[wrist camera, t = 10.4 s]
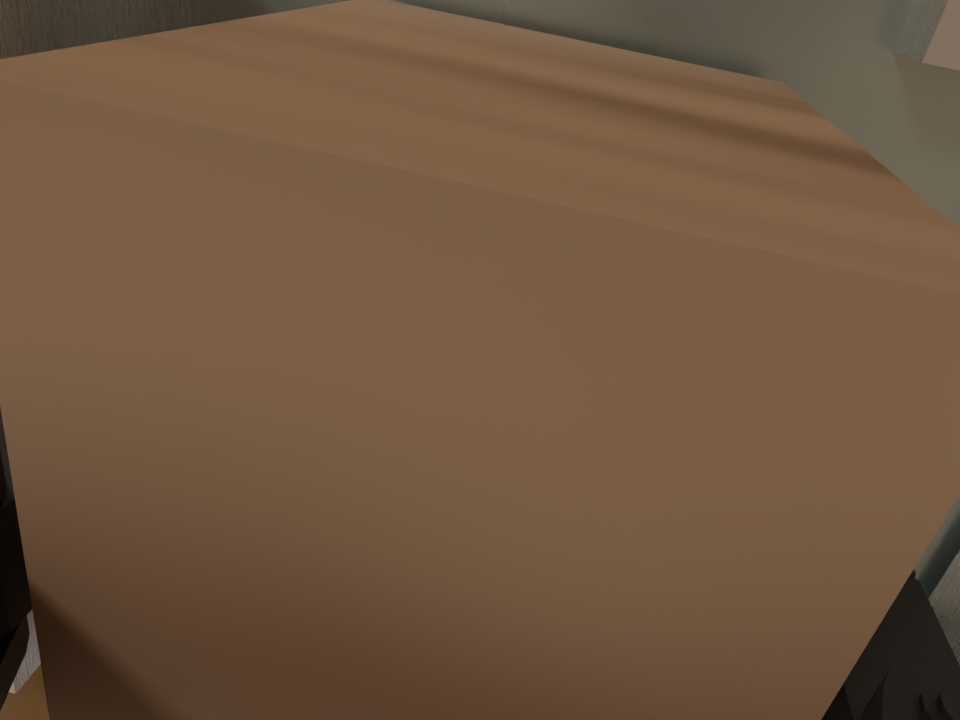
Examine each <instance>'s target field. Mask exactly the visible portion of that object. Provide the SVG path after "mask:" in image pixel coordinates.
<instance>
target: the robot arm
mask: <svg viewBox="0 0 960 720" xmlns="http://www.w3.org/2000/svg"><path fill="white" fill-rule="evenodd" d="M915 576H916V572H915V570H914V569H913V571H912V573H911V574H910V576H909V577H908V579H907V581H906V582H905V584H904V586H903V587H902V589H901V590H900V592H899V594H898V595H897V597H896V599H895V600H894V602H893V604H892V605H891V607H890V608H889V610H888V612H887V613H886V615H885V617H884V618H883V620H882V621H881V623H880V625H879V626H878V628H877V630H876V631H875V633H874V634H873V636H872V638H871V639H870V641H869V643H868V644H867V646H866V647H865V649H864V651H863V652H862V654H861V656H860V657H859V659H858V661H857V662H856V664H855V665H854V667H853V669H852V670H851V672H850V674H849V675H848V677H847V678H846V680H845V682H844V683H843V685H842V687H841V688H840V690H839V691H838V693H837V695H836V696H835V698H834V700H833V701H832V703H831V704H830V706H829V708H828V709H827V711H826V713H825V714H824V716H823V718H822V719H821V720H960V665H959V663H958V661H957V659H956V657H955V655H954V653H953V650H952V648H951V646H950V644H949V642H948V640H947V638H946V636H945V634H944V631H943V629H942V627H941V625H940V623H939V621H938V619H937V617H936V614H935V612H934V610H933V608H932V606H931V604H930V602H929V600H928V597H927V595H926V593H925V591H924V589H923V587H922V585H921V583H920V580H916V579H915ZM31 610H32V604H31V598H30V591H29V585H28V579H27V572H26V566H25V560H24V553H23V547H22V541H21V534H20V528H19V522H18V515H17V509H16V503H15V496H14V490H13V484H12V477H11V471H10V465H9V458H8V452H7V446H6V439H5V433H4V427H3V420H2V414H1V408H0V710H1V708H2V706H3V704H4V701H5V699H6V697H7V695H8V692H9V690H10V688H11V686H12V683H13V681H14V679H15V677H16V674H17V672H18V670H19V668H20V665H21V663H22V661H23V659H24V656H25V654H26V652H27V646H28V641H29V635H30V632H29V626H28V619H27V614H28V613H29V612H30V611H31Z"/></svg>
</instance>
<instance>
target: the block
mask: <svg viewBox="0 0 960 720" xmlns="http://www.w3.org/2000/svg"><path fill="white" fill-rule="evenodd" d="M0 408H1V414H2V420H3V427H4V433H5V439H6V446H7V452H8V458H9V465H10V471H11V477H12V484H13V490H14V496H15V503H16V509H17V515H18V522H19V528H20V534H21V541H22V547H23V553H24V560H25V566H26V572H27V579H28V585H29V591H30V598H31V604H32V610H33V617H34V623H35V629H36V636H37V642H38V648H39V655H40V661H41V667H42V674H43V680H44V686H45V693H46V699H47V705H48V712H49V718H50V720H821V719H822V718H823V716H824V714H825V713H826V711H827V709H828V708H829V706H830V704H831V703H832V701H833V700H834V698H835V696H836V695H837V693H838V691H839V690H840V688H841V687H842V685H843V683H844V682H845V680H846V678H847V677H848V675H849V674H850V672H851V670H852V669H853V667H854V665H855V664H856V662H857V661H858V659H859V657H860V656H861V654H862V652H863V651H864V649H865V647H866V646H867V644H868V643H869V641H870V639H871V638H872V636H873V634H874V633H875V631H876V630H877V628H878V626H879V625H880V623H881V621H882V620H883V618H884V617H885V615H886V613H887V612H888V610H889V608H890V607H891V605H892V604H893V602H894V600H895V599H896V597H897V595H898V594H899V592H900V590H901V589H902V587H903V586H904V584H905V582H906V581H907V579H908V577H909V576H910V574H911V573H912V571H913V569H914V568H915V566H916V564H917V563H918V561H919V560H920V558H921V556H922V555H923V553H924V551H925V550H926V548H927V546H928V545H929V543H930V542H931V540H932V538H933V537H934V535H935V533H936V532H937V530H938V529H939V527H940V525H941V524H942V522H943V520H944V519H945V517H946V516H947V514H948V512H949V511H950V509H951V507H952V506H953V504H954V503H955V501H956V499H957V498H958V496H959V494H960V229H959V228H958V227H957V226H956V225H955V224H953V223H952V222H951V221H950V220H949V219H947V218H946V217H945V216H944V215H942V214H941V213H940V212H939V211H938V210H936V209H935V208H934V207H933V206H932V205H930V204H929V203H928V202H927V201H926V200H924V199H923V198H922V197H921V196H920V195H918V194H917V193H916V192H915V191H913V190H912V189H911V188H910V187H909V186H907V185H906V184H905V183H904V182H903V181H901V180H900V179H899V178H898V177H897V176H895V175H894V174H893V173H892V172H890V171H889V170H888V169H887V168H886V167H884V166H883V165H882V164H881V163H880V162H878V161H877V160H876V159H875V158H874V157H872V156H871V155H870V154H869V153H867V152H866V151H865V150H864V149H863V148H861V147H860V146H859V145H858V144H857V143H855V142H854V141H853V140H852V139H851V138H849V137H848V136H847V135H846V134H845V133H843V132H842V131H841V130H840V129H838V128H837V127H836V126H835V125H834V124H832V123H831V122H830V121H829V120H828V119H826V118H825V117H824V116H823V115H822V114H820V113H819V112H818V111H817V110H815V109H814V108H813V107H812V106H811V105H809V104H808V103H807V102H806V101H805V100H803V99H802V98H801V97H800V96H799V95H797V94H796V93H795V92H794V91H792V90H791V89H790V88H789V87H788V86H786V85H785V84H784V83H782V82H778V81H773V80H768V79H763V78H758V77H754V76H749V75H744V74H739V73H734V72H730V71H725V70H720V69H715V68H710V67H706V66H701V65H696V64H691V63H686V62H682V61H677V60H672V59H667V58H662V57H658V56H653V55H648V54H643V53H639V52H634V51H629V50H624V49H619V48H615V47H610V46H605V45H600V44H595V43H591V42H586V41H581V40H576V39H571V38H567V37H562V36H557V35H552V34H547V33H543V32H538V31H533V30H528V29H523V28H519V27H514V26H509V25H504V24H499V23H495V22H490V21H485V20H480V19H475V18H471V17H466V16H461V15H456V14H452V13H447V12H442V11H437V10H432V9H428V8H423V7H418V6H413V5H408V4H404V3H399V2H394V1H389V0H350V1H344V2H338V3H332V4H326V5H320V6H314V7H308V8H302V9H296V10H290V11H284V12H278V13H272V14H266V15H260V16H254V17H248V18H243V19H237V20H231V21H225V22H219V23H213V24H207V25H201V26H195V27H189V28H183V29H177V30H171V31H165V32H159V33H153V34H147V35H142V36H136V37H130V38H124V39H118V40H112V41H106V42H100V43H94V44H88V45H82V46H76V47H70V48H64V49H58V50H52V51H46V52H40V53H34V54H29V55H23V56H17V57H11V58H5V59H0Z"/></svg>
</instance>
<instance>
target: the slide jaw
mask: <svg viewBox="0 0 960 720" xmlns="http://www.w3.org/2000/svg"><path fill="white" fill-rule="evenodd" d="M928 600H929V602H930V604H931V606H932V608H933V610H934V612H935V614H936V617H937V619H938V621H939V623H940V625H941V627H942V629H943V631H944V634H945V636H946V638H947V640H948V642H949V644H950V646H951V648H952V650H953V653H954V655H955V657H956V659H957V661H958V663H959V665H960V550H959V552H958V553H957V555H956V556H955V558H954V560H953V561H952V563H951V564H950V566H949V567H948V569H947V571H946V572H945V574H944V575H943V577H942V578H941V580H940V582H939V583H938V585H937V586H936V588H935V589H934V591H933V593H932V594H931V596H930V597H929V599H928Z"/></svg>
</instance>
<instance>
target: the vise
mask: <svg viewBox="0 0 960 720" xmlns="http://www.w3.org/2000/svg"><path fill="white" fill-rule="evenodd" d="M344 1H350V0H0V59H5V58H11V57H17V56H23V55H29V54H34V53H40V52H46V51H52V50H58V49H64V48H70V47H76V46H82V45H88V44H94V43H100V42H106V41H112V40H118V39H124V38H130V37H136V36H142V35H147V34H153V33H159V32H165V31H171V30H177V29H183V28H189V27H195V26H201V25H207V24H213V23H219V22H225V21H231V20H237V19H243V18H248V17H254V16H260V15H266V14H272V13H278V12H284V11H290V10H296V9H302V8H308V7H314V6H320V5H326V4H332V3H338V2H344ZM389 1H394V2H399V3H404V4H408V5H413V6H418V7H423V8H428V9H432V10H437V11H442V12H447V13H452V14H456V15H461V16H466V17H471V18H475V19H480V20H485V21H490V22H495V23H499V24H504V25H509V26H514V27H519V28H523V29H528V30H533V31H538V32H543V33H547V34H552V35H557V36H562V37H567V38H571V39H576V40H581V41H586V42H591V43H595V44H600V45H605V46H610V47H615V48H619V49H624V50H629V51H634V52H639V53H643V54H648V55H653V56H658V57H662V58H667V59H672V60H677V61H682V62H686V63H691V64H696V65H701V66H706V67H710V68H715V69H720V70H725V71H730V72H734V73H739V74H744V75H749V76H754V77H758V78H763V79H768V80H773V81H778V82H782V83H784V84H785V85H786V86H788V87H789V88H790V89H791V90H792V91H794V92H795V93H796V94H797V95H799V96H800V97H801V98H802V99H803V100H805V101H806V102H807V103H808V104H809V105H811V106H812V107H813V108H814V109H815V110H817V111H818V112H819V113H820V114H822V115H823V116H824V117H825V118H826V119H828V120H829V121H830V122H831V123H832V124H834V125H835V126H836V127H837V128H838V129H840V130H841V131H842V132H843V133H845V134H846V135H847V136H848V137H849V138H851V139H852V140H853V141H854V142H855V143H857V144H858V145H859V146H860V147H861V148H863V149H864V150H865V151H866V152H867V153H869V154H870V155H871V156H872V157H874V158H875V159H876V160H877V161H878V162H880V163H881V164H882V165H883V166H884V167H886V168H887V169H888V170H889V171H890V172H892V173H893V174H894V175H895V176H897V177H898V178H899V179H900V180H901V181H903V182H904V183H905V184H906V185H907V186H909V187H910V188H911V189H912V190H913V191H915V192H916V193H917V194H918V195H920V196H921V197H922V198H923V199H924V200H926V201H927V202H928V203H929V204H930V205H932V206H933V207H934V208H935V209H936V210H938V211H939V212H940V213H941V214H942V215H944V216H945V217H946V218H947V219H949V220H950V221H951V222H952V223H953V224H955V225H956V226H957V227H958V228H959V229H960V0H389ZM959 550H960V494H959V496H958V498H957V499H956V501H955V503H954V504H953V506H952V507H951V509H950V511H949V512H948V514H947V516H946V517H945V519H944V520H943V522H942V524H941V525H940V527H939V529H938V530H937V532H936V533H935V535H934V537H933V538H932V540H931V542H930V543H929V545H928V546H927V548H926V550H925V551H924V553H923V555H922V556H921V558H920V560H919V561H918V563H917V564H916V566H915V568H914V570H915V572H916V576H915V579H916V580H920V583H921V585H922V587H923V589H924V591H925V593H926V595H927V597H928V599H929V597H930V596H931V594H932V593H933V591H934V589H935V588H936V586H937V585H938V583H939V582H940V580H941V578H942V577H943V575H944V574H945V572H946V571H947V569H948V567H949V566H950V564H951V563H952V561H953V560H954V558H955V556H956V555H957V553H958V552H959ZM27 619H28V626H29V632H30V635H29V641H28V646H27V652H26V654H25V656H24V659H23V661H22V663H21V665H20V668H19V670H18V672H17V674H16V677H15V679H14V681H13V683H12V686H11V688H10V690H9V692H11V693H15V694H16V693H17V691H18V690H19V689H20V688H21V687H22V685H23V684H24V683H25V682H26V681H27V679H28V678H29V677H30V676H31V675H32V673H33V672H34V671H35V670H36V669H37V667H38V666H39V665H40V664H41V661H40V655H39V648H38V642H37V636H36V629H35V623H34V617H33V610H31V611H30V612H29V613H28V614H27Z"/></svg>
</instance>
